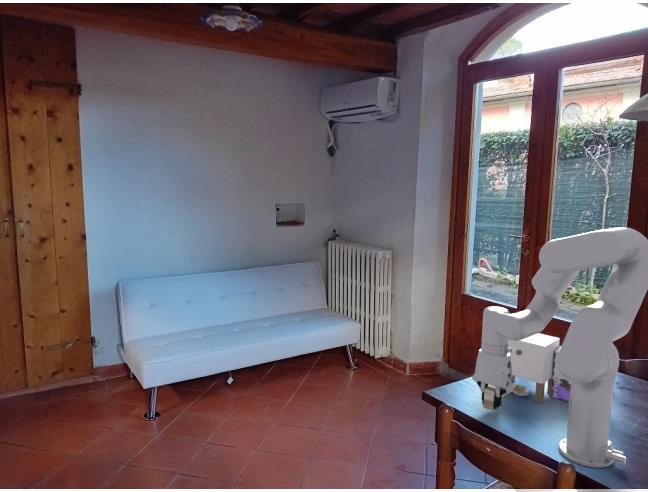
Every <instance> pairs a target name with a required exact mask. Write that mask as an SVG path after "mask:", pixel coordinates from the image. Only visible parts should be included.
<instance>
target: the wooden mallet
mask: <svg viewBox="0 0 648 492" xmlns="http://www.w3.org/2000/svg"><path fill="white" fill-rule="evenodd" d="M512 385H513V388H514V391H516V392H519V393H522V394H525V389H527V388H526V387H525V386H524V385H523V386H522V385H520V384H517V383H514V382H512ZM506 388H507V386H506ZM509 394H510V393H505V394H503V395H502V399H503V398H504V397H505V396H507V395H509ZM494 396H496V387H495V386H492V385H489V386H488V387H487V388H485V389H484V405H483V408H484V409H486V410H489V411H494V410H496V409H494Z"/></svg>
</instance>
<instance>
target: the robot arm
mask: <svg viewBox="0 0 648 492" xmlns="http://www.w3.org/2000/svg"><path fill="white" fill-rule="evenodd" d="M538 260H539V263H540V267H539V269H538V270H537V272H536V273H535V274H534V276H533V277H532V279H531V285H532V287H533V289H534V290H535V295H534V296H533V298H532V300H531V301H530V302H529V303H528V305H527V307H526V308H525V309H524V310H519V311H517V312H513V313H510V311H509V310H508V309H507V308H505V307H502V306H494V305H492V306H487V307H485V308H484V310H483V313H482V331H481V346H480V349H479V350H478V354H477V358H476V361H475V362H476V363H475V369H474V370H475V371H474V374H473V375H472V376H471V380H472V381H474V382H475V383H476V384H477V386H478V387H479V389H480V392H481V404H482V405H483V406H484V389H485V388H487V387H488V386H490V385H492V386H496V396H494V409H495V410H497V409H498V408H500V407H501V406H502V401H503V400H502V399H503V398H502V395H503V394H505V393H509V394H510V393H513V391H514V388H513V385H512V383H513V381H512V362H511V356H510V354H509V353H511V352H512V348H509V344H508V339H510V340H513V341H519V340H522V339H525V338H528V337H530V336H533V335H536V334H538V333H539V334H540V333H541V332H542V331H543V330H544V329H546V327H547V326H548V324H549V323H550V322H551V320H552V319H553V318H554V316H555V315H556V313H557V312H558V310H559V307H560V305H561V304H560V303H561V301H562V297H563V295H564V294H565V292H566V291H567V290H568V288H569V287H570V286H571V284H572V283H573V282H574V280H575V279H576V278H577V276H578V275H579V274H580V273H581V271H583V270H584V271H585V270H590V269H595V268H596V269H597V268H604V267H609V266H613V269H612V271H611V272H610V274H609V275H608V277H607V279H606V280H605V283H604V286H603V288H602V290H601V292H600V295H599V297H598V298H597V300H596V301H595V302H594V303H593V304H592V303H591V304H590V305H587V306H584V307H583V308H581V309H580V310H578V312H577V313H576V314H575V316H573V318H572V321H571V322H570V325H569V327H568V330H567V332H566V335H565V337H564V340H563V341H562V343H561V345H560V346H561V348H560V351H559V354H558V367H559V370H560V372H561V374H562V375H563V376H564V377H565V378H566V379H567V380H569V381H571V389H570V400H569V402H568V411H567V412H568V414H567V423H566V425H567V426H566V437H565V438H563V439H561V440H560V441H559V443H558V447H559V448H558V450H559V451H560V453H561V454H562V455H563V456H564V457H565V458H566V459H568V460H570V461H571V462H573V463H575V464H579V465H582V466H585V467H590V468H595V469H596V468H598V469H601V468H603V469H604V468H607V467H610V466H612V465H613V463H614V461H615V462H617V463H618V464H621V465H626V463H627V456H625V455H624V451H621V450H620V449H619V450H618V449H615V448H614V447H612V444H613V443H612V441H611V440H609V437H610V436H609V435H610V426H611V417H612V407H613V405H612V404H613V396H614V389H615V383H616V377H617V374H618V371H619V365H620V356H619V355H620V354H619V351H618V349H617V347H616V346H615V345H614V343H613V342H615V341H617V340H618V339H621V338H623V337H624V336H626V335H627V334H629V332H630V330H631V327H632V326H633V323H634V321H635V318H636V316H637V314H638V312H639V309H640V308H641V305H642V303H643V300H644V298H645V296H646V294H647V291H648V238H647V237H646V236H644V235H643V233H641V232H639V231H638V230H636V229H633V228H631V227H625V226H624V227H620V226H619V227H612V228H604V229H598V230H594V231H589V232H585V233H584V232H583V233H580V234H577V235H576V234H575V235H571V236H566V237H562V238H561V237H560V238H554V239H551V240H549V241H547V242H545V243H544V244H543V245H542V247H540V251H539V255H538ZM506 386H507V388H506Z"/></svg>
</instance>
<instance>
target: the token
mask: <svg viewBox="0 0 648 492" xmlns="http://www.w3.org/2000/svg"><path fill="white" fill-rule="evenodd" d="M529 392H530V391H529V389H528V388H526V389H525V394H522V393H519V392H516V391H513V392H512V393H513V394H514V395H515V396H520V397H527V396H529V394H530V393H529Z"/></svg>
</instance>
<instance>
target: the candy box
mask: <svg viewBox="0 0 648 492" xmlns="http://www.w3.org/2000/svg"><path fill="white" fill-rule="evenodd" d="M561 346H562V345H559V348H557V349H556V350H555V355H554V367H553V378H552V390H551V393H550V397H551V398H552V399H555V400H560V401H563V402H566V403H569V400H570V389H571V381H569V380H567V379H566V378H565V377H564V376H563V375H562V374H561V372H560V370H559V367H558V354H559V351H560V348H561Z"/></svg>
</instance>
